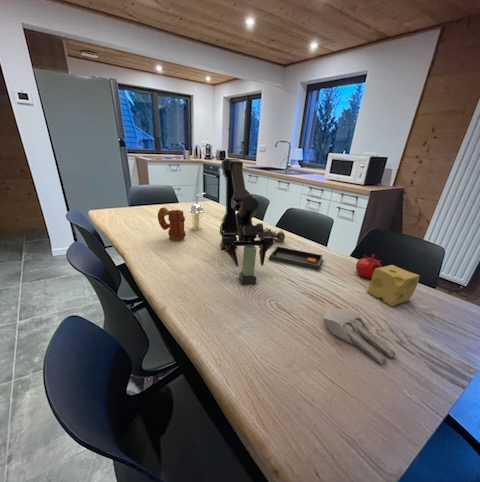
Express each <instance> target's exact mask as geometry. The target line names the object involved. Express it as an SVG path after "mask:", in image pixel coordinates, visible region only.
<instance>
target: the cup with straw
mask: <svg viewBox="0 0 480 482" xmlns="http://www.w3.org/2000/svg"><path fill="white" fill-rule="evenodd" d="M206 194H207V193H206V192H201V193H197V194H196V195H195V204H193V205H192V206H191V207H190V208H189V210H188V212H189V214H190V218H191V225H192V230H195V231H199V230H201V229H202V223H203V216H204V214H205V210H204V208H203V206H202V205H201V204H198V196H202V195H206Z"/></svg>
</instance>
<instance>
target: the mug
mask: <svg viewBox="0 0 480 482" xmlns="http://www.w3.org/2000/svg"><path fill="white" fill-rule="evenodd" d="M166 216H168V219H167V220H168V222H169V223H168V222H167V221H166V219H165V218H166ZM157 221H158V224H159V226H160V227H161V228H162V230H163V231H167V230H168V231H167V232H168V233H167V234H168V237H169V239H170V240H171V241H174V242H178V241H183V240H184V239H185V237H186V236H187V234H186V230H185V221H186V217H185V216H184V211H183V210H181V209H175V210H174V209H171V210H169V209H168V208H167V207H166V206H165V207H164V206H163V207H160V208H159V209H158V212H157Z"/></svg>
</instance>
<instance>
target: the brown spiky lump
mask: <svg viewBox="0 0 480 482" xmlns="http://www.w3.org/2000/svg"><path fill="white" fill-rule="evenodd" d="M258 234H259V235H257V237H256V239H257V238H258V239H259V240H261V238H262V237H272V238H273V239H277V240H276V241H277V242H280V243H284V241H285V238H286V234H285V233H284V231H283V229H280V230H279V231H277V230H276V231H274V230H272V228H271V227H270V228H268V227H266V228H263V233H258Z"/></svg>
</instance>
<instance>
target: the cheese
mask: <svg viewBox="0 0 480 482" xmlns="http://www.w3.org/2000/svg"><path fill="white" fill-rule="evenodd" d="M420 277H421V275H419V274H417V273H414V272H411V271H409V270H405V269H404V268H401V267H398V266H397V265H394V264H390V265H389V264H388V265H386V266H382V267H381V268H375V270H374V273H373V276H372V279H371V280H370V282H369V286H368V289H367V293H368V294H370V295H372V296H373V297H375V298H378V299H382V301H383V302H384V303H385V304H387V305H389V306H390V307H395V306H396V305H399V304H402V303H406V302H409V301H410V299H411V297H412V296H413V295H414V293H415V290H416V288H417V286H418V285H419V281H420Z"/></svg>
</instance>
